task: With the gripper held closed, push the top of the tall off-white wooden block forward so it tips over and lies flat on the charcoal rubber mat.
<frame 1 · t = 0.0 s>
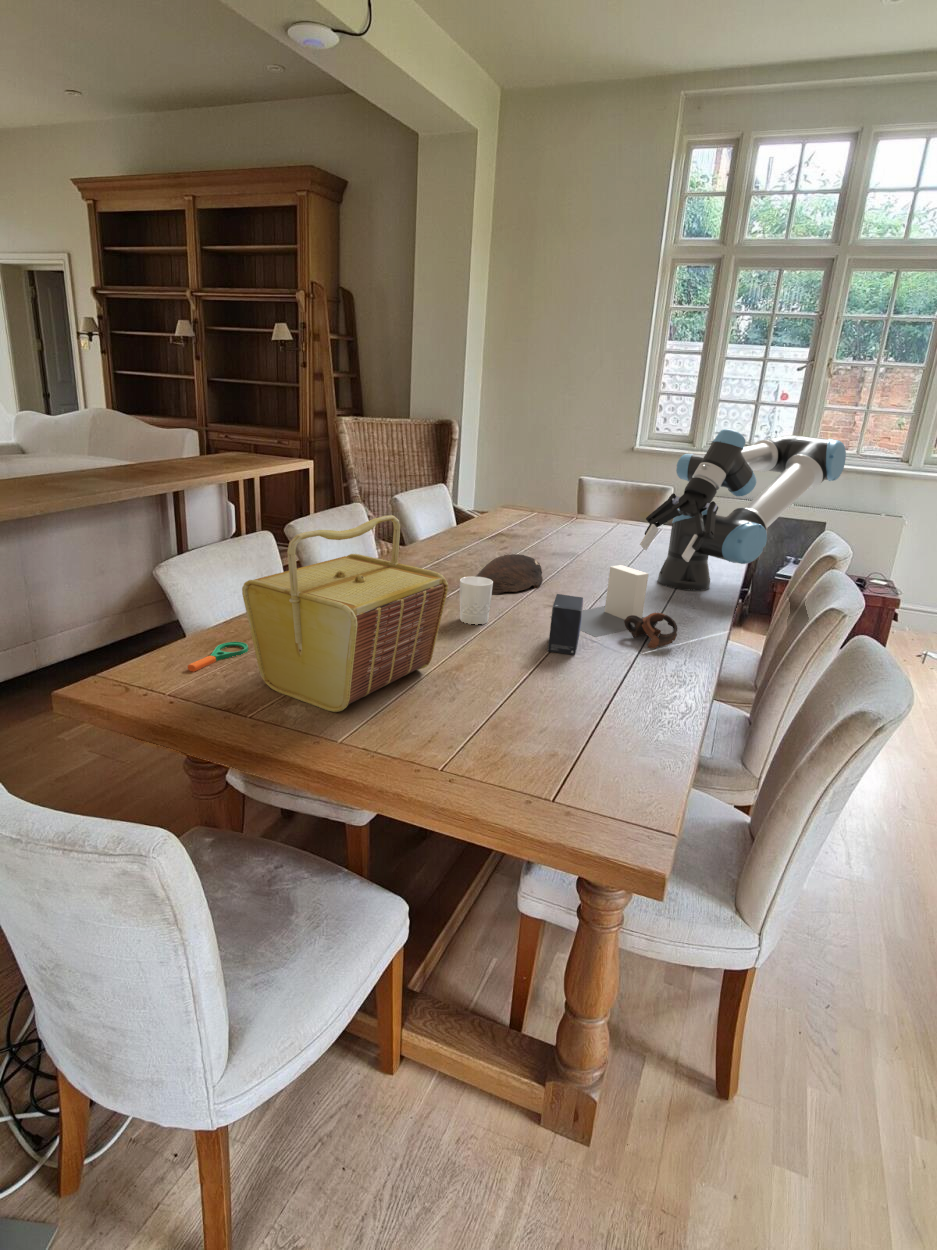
hand: (663, 553, 183), 15 cm above the table, tool tilted 35°, fingers open, 13 cm apart
tall block: (622, 615, 180), resting on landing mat
small box: (563, 646, 159), on the table
brown curved piece: (648, 643, 164), on the table
magnifying glass: (218, 660, 141), on the table
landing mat: (603, 621, 176), on the table
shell: (508, 581, 208), on the table
white cup: (473, 621, 171), on the table
picnic basket: (348, 680, 135), on the table
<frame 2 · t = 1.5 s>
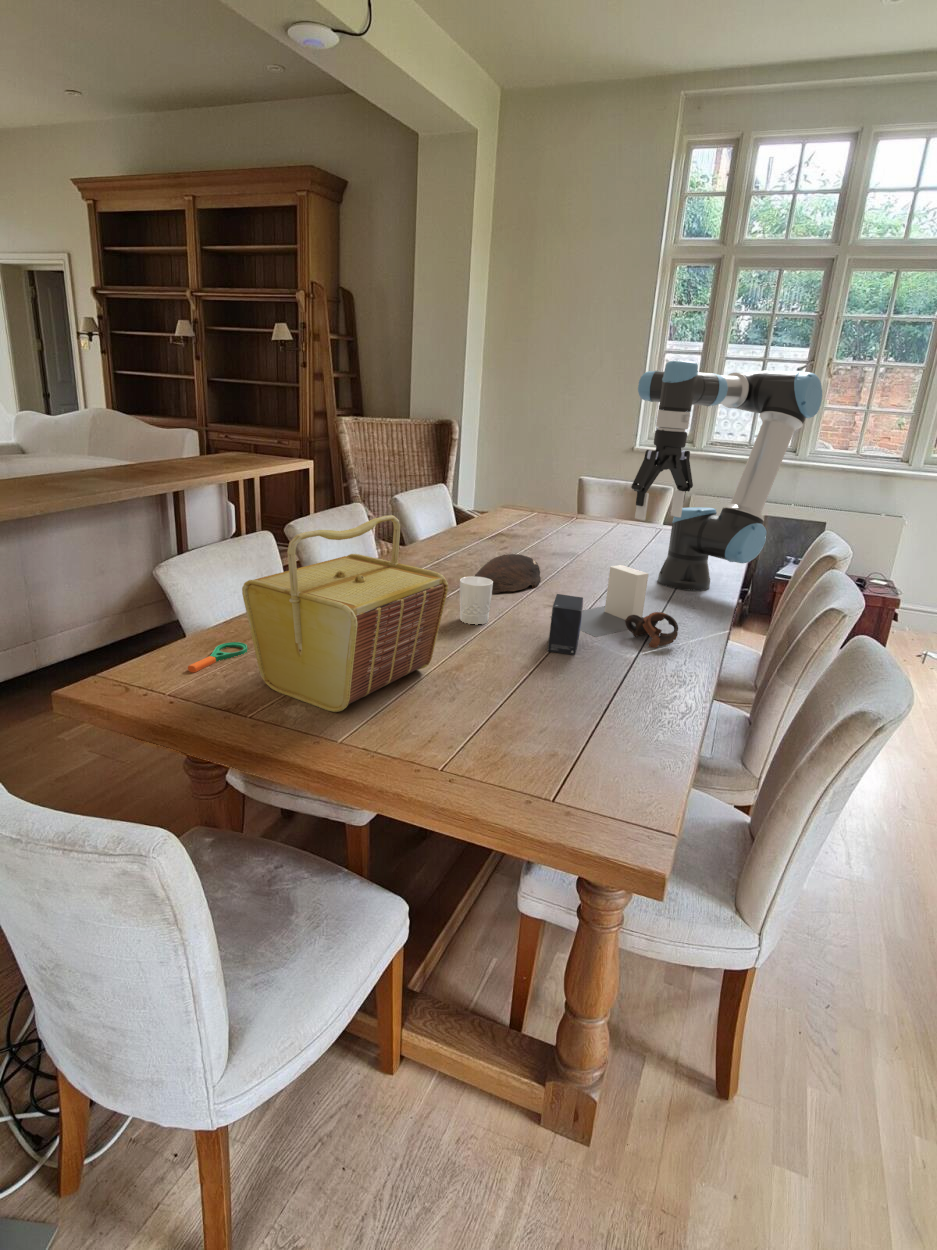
hand: (658, 518, 177), 25 cm above the table, tool pointing down, fingers open, 13 cm apart
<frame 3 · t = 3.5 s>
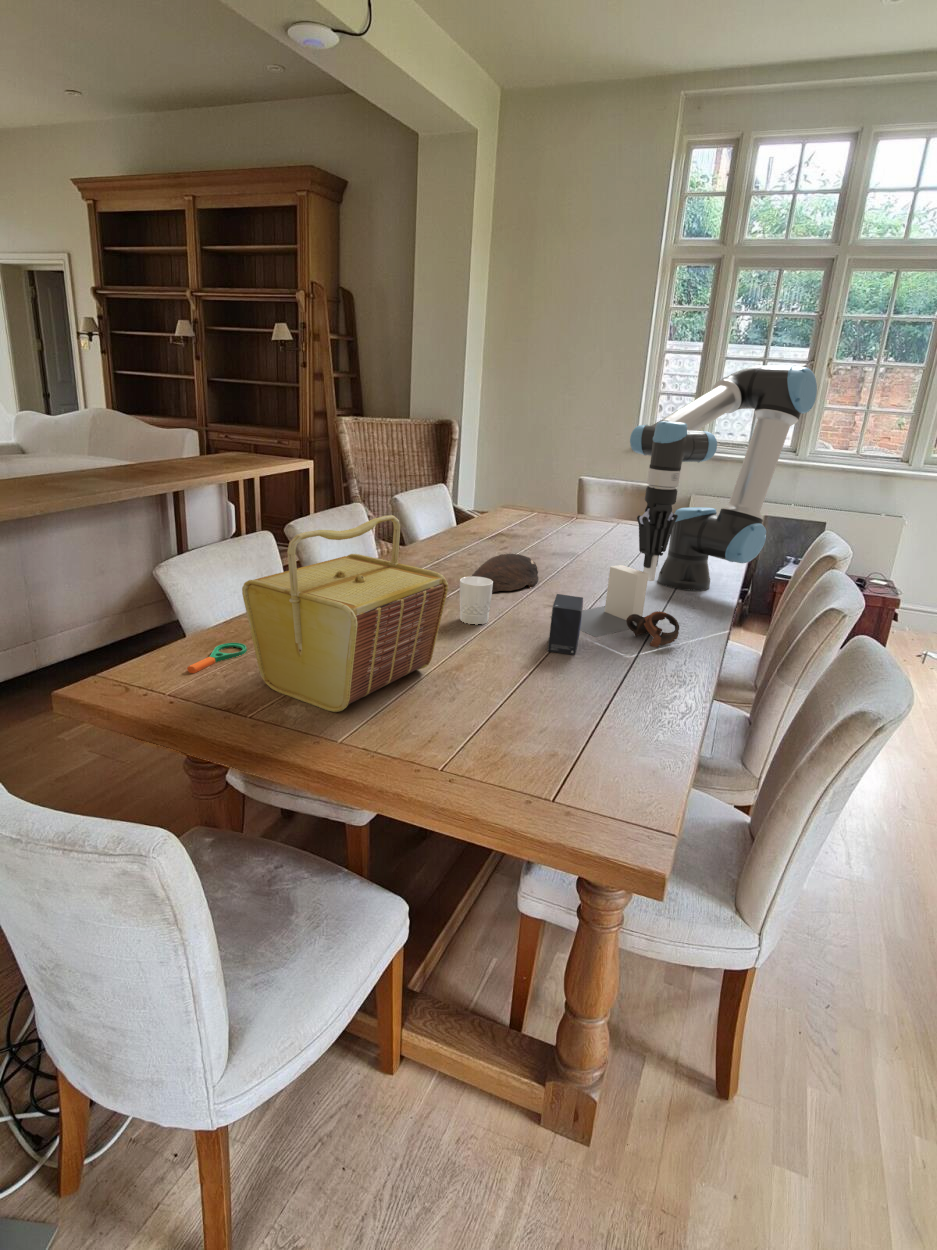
hand: (648, 579, 182), 9 cm above the table, tool pointing down, fingers closed
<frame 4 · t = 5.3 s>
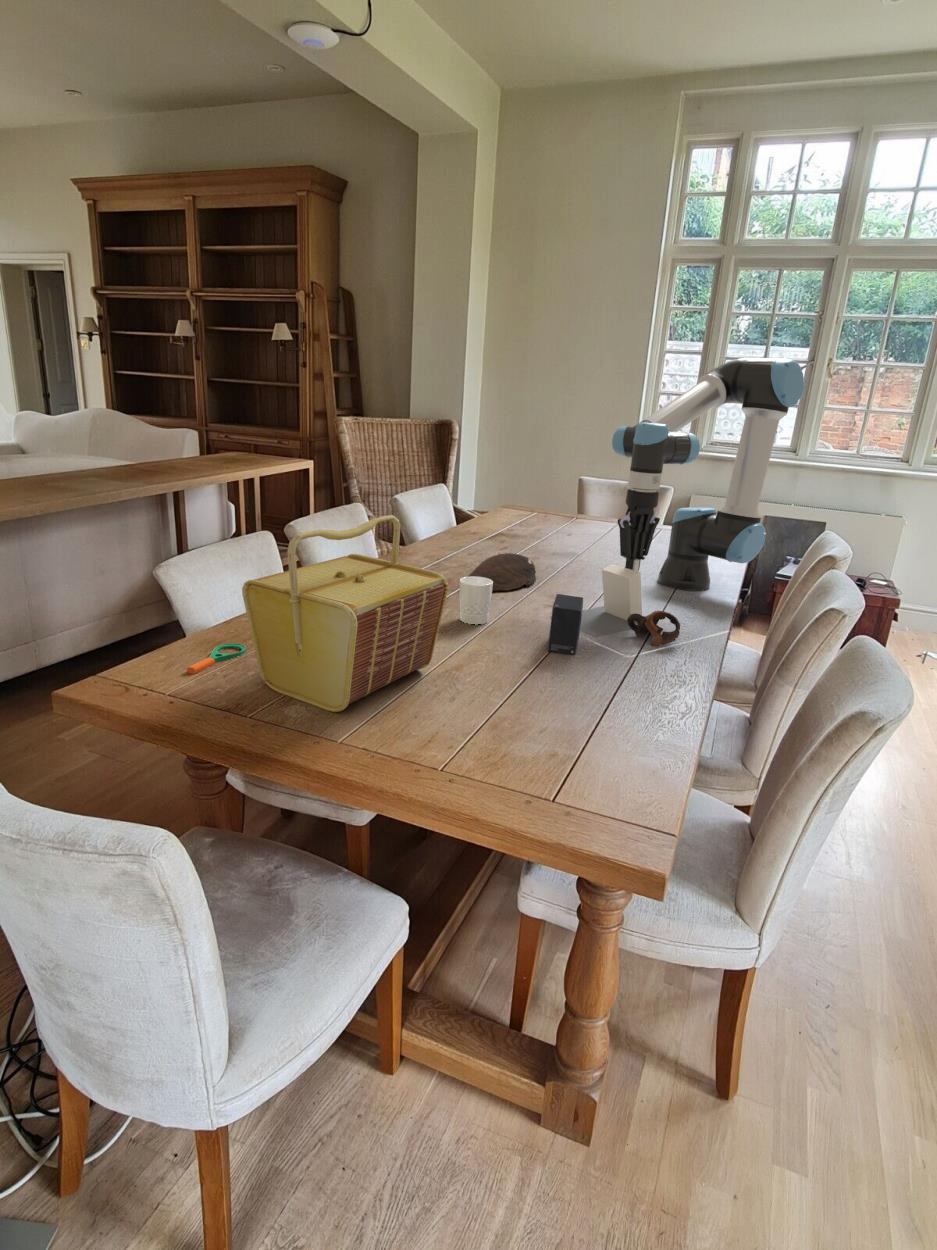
hand: (630, 584, 178), 9 cm above the table, tool pointing down, fingers closed
tall block: (623, 613, 180), point 1 cm above the table, tilted 14°, touching gripper, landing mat
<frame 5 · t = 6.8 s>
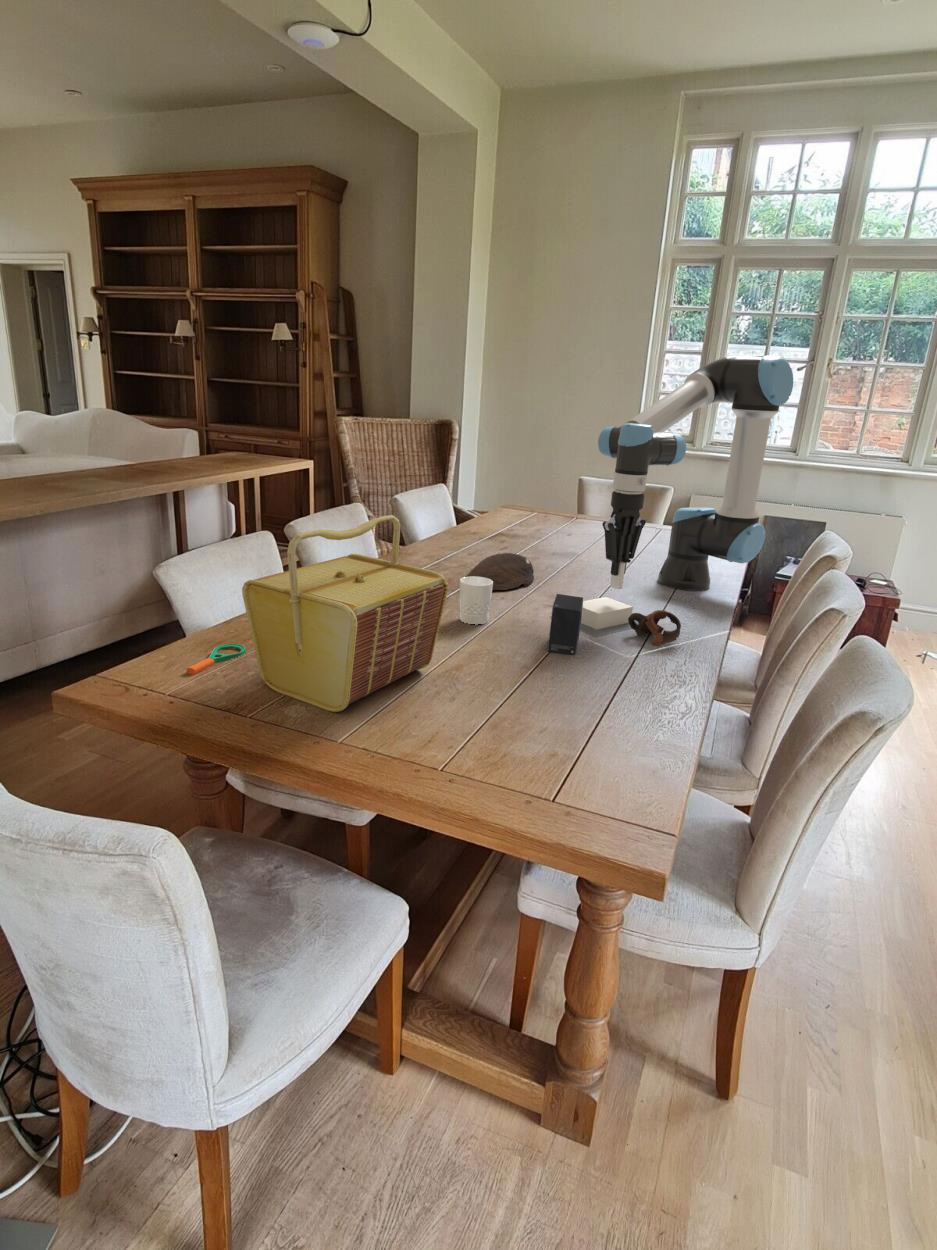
hand: (616, 587, 175), 8 cm above the table, tool pointing down, fingers closed
tall block: (618, 609, 178), point 2 cm above the table, tilted 90°, touching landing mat
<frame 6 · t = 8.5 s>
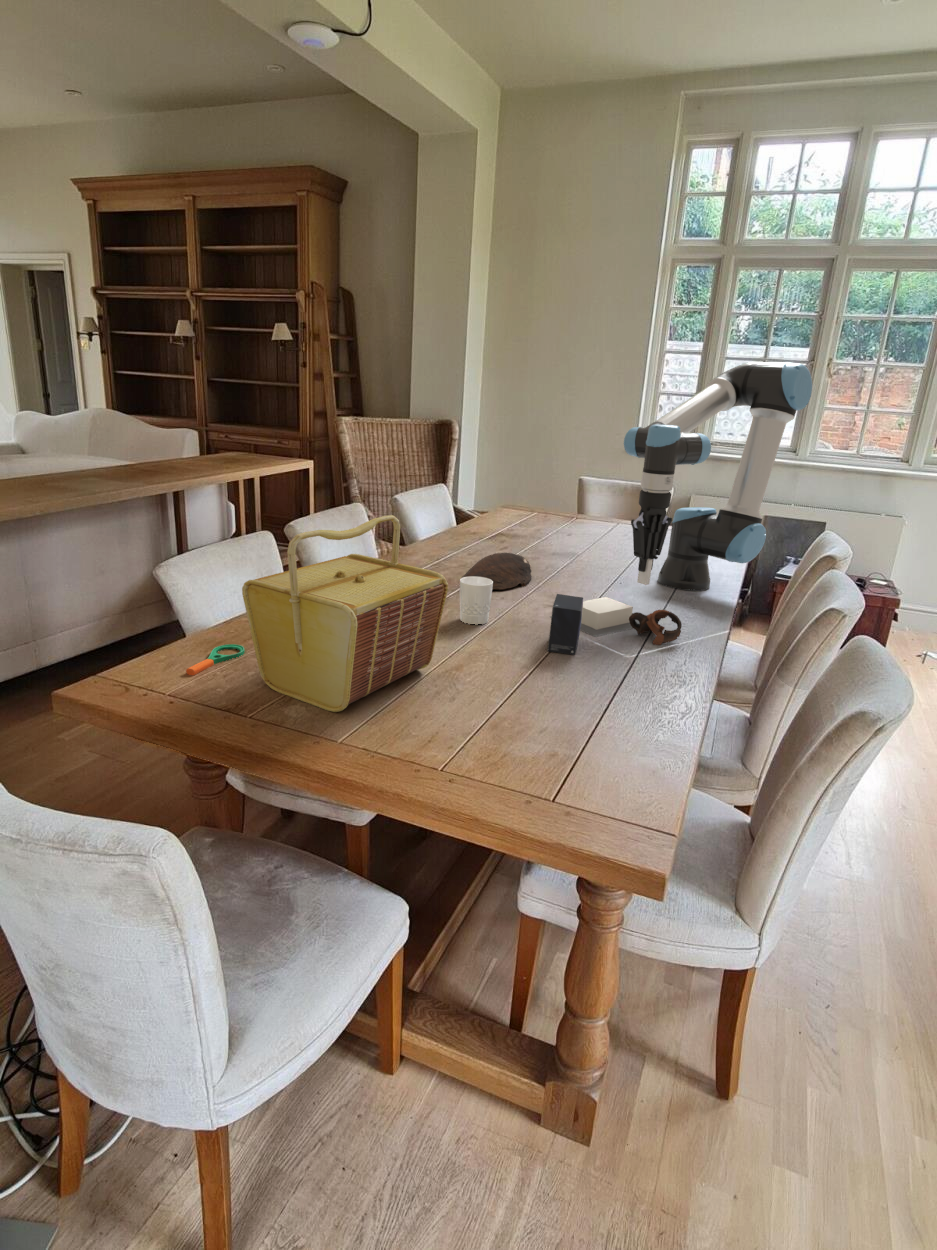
hand: (643, 583, 181), 8 cm above the table, tool pointing down, fingers closed
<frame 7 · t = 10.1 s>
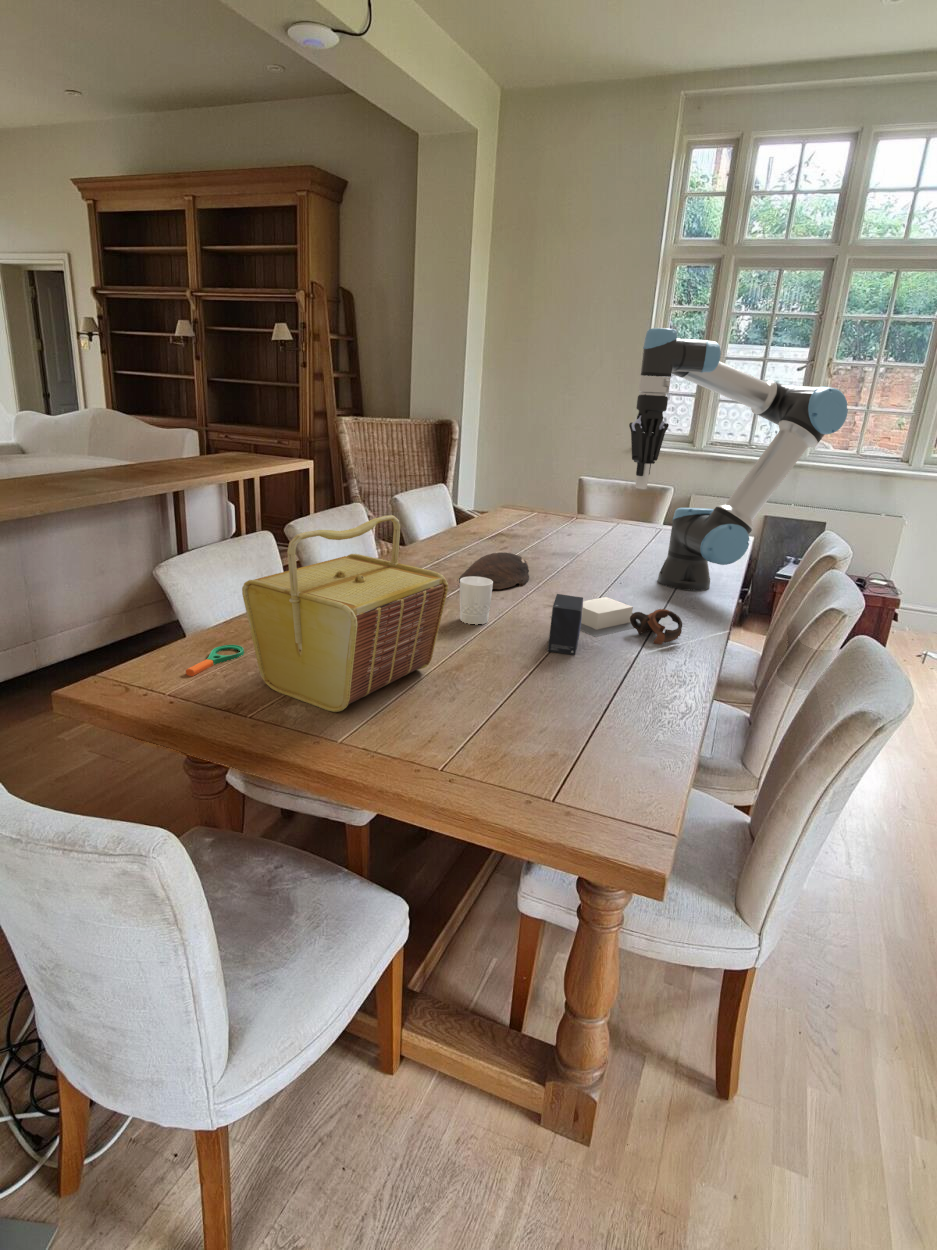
hand: (640, 488, 187), 30 cm above the table, tool pointing down, fingers closed
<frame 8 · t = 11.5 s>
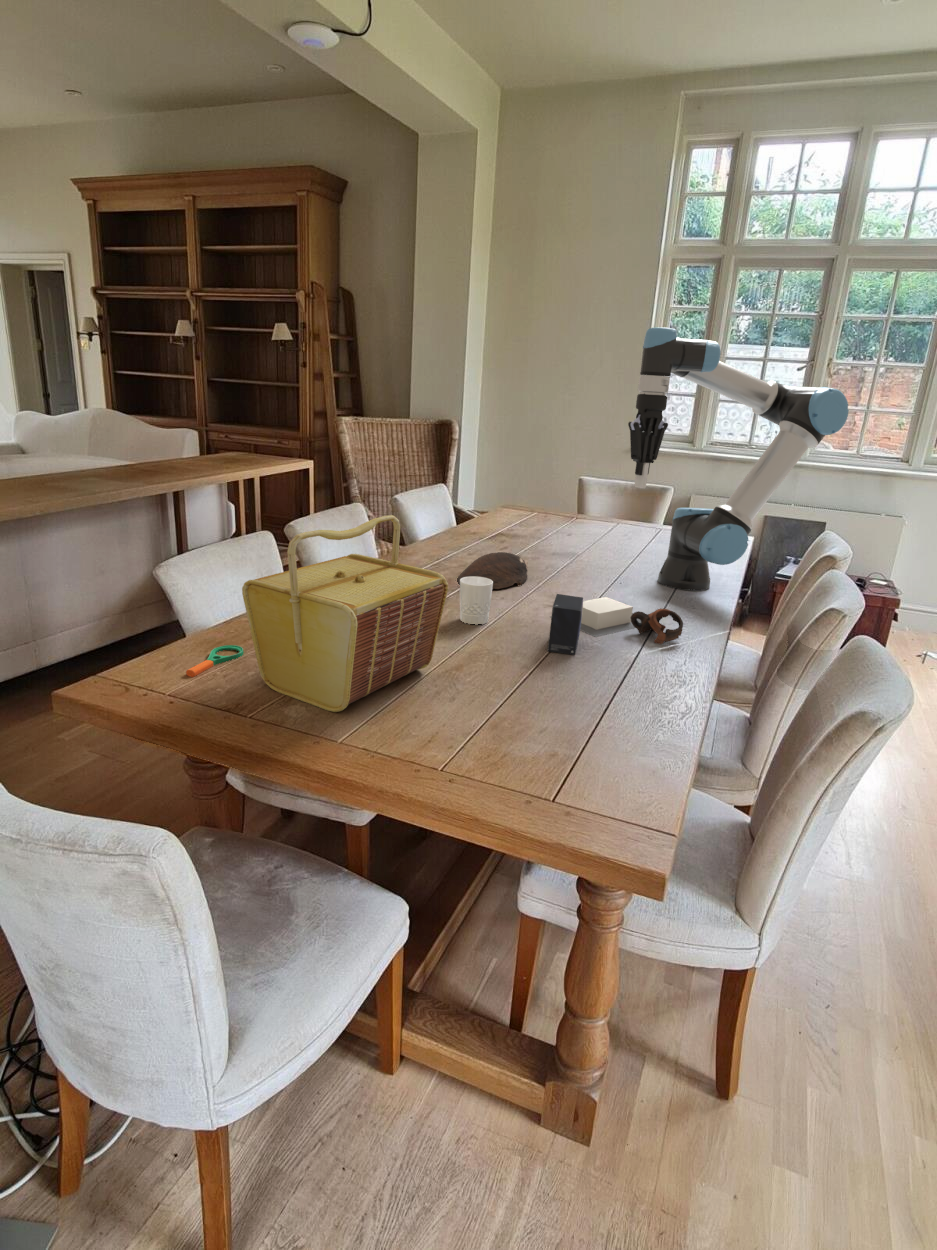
hand: (639, 487, 187), 30 cm above the table, tool pointing down, fingers closed
at the end: tall block tilted 90°; tall block inside the target area (1.9 cm from its centre), point 2.4 cm above the table; the gripper is holding nothing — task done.
